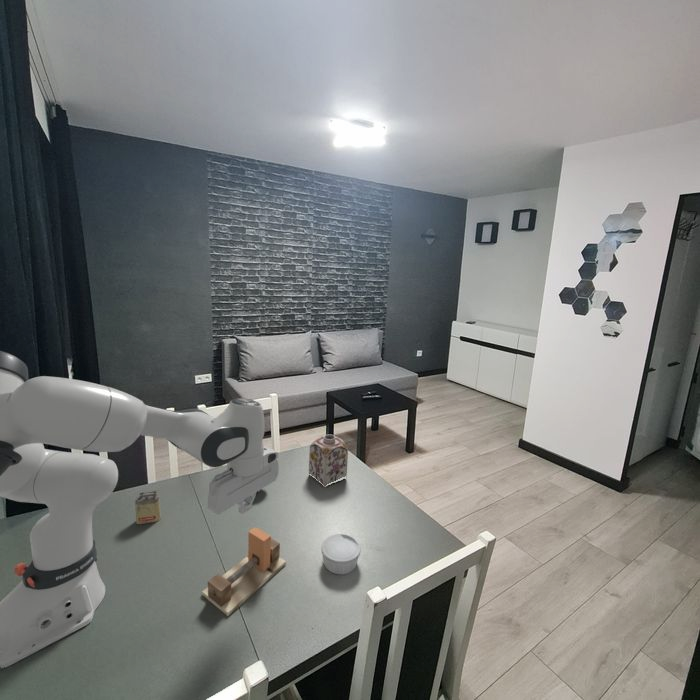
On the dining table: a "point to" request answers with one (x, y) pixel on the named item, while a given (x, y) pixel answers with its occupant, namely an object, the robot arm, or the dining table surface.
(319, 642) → the dining table surface
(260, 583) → the rod stand
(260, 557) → the collar
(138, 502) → the lighter
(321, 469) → the decorative jar
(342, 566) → the ramekin
